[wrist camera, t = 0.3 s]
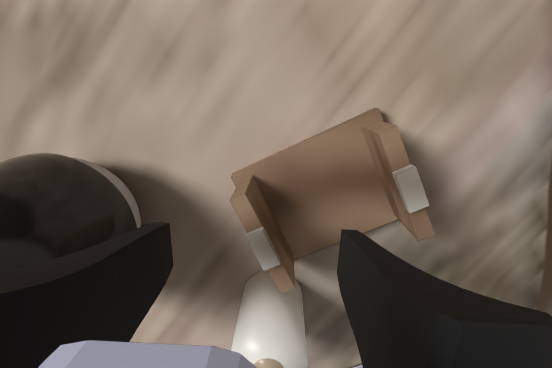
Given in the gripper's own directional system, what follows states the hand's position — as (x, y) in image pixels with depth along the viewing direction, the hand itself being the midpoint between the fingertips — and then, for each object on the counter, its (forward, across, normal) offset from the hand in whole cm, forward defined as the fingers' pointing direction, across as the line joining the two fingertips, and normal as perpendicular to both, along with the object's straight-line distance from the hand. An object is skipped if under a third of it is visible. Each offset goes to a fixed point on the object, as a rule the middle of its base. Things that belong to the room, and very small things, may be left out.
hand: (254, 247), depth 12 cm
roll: (+10, 0, +10) cm, 14 cm away
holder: (+10, -4, +1) cm, 11 cm away
